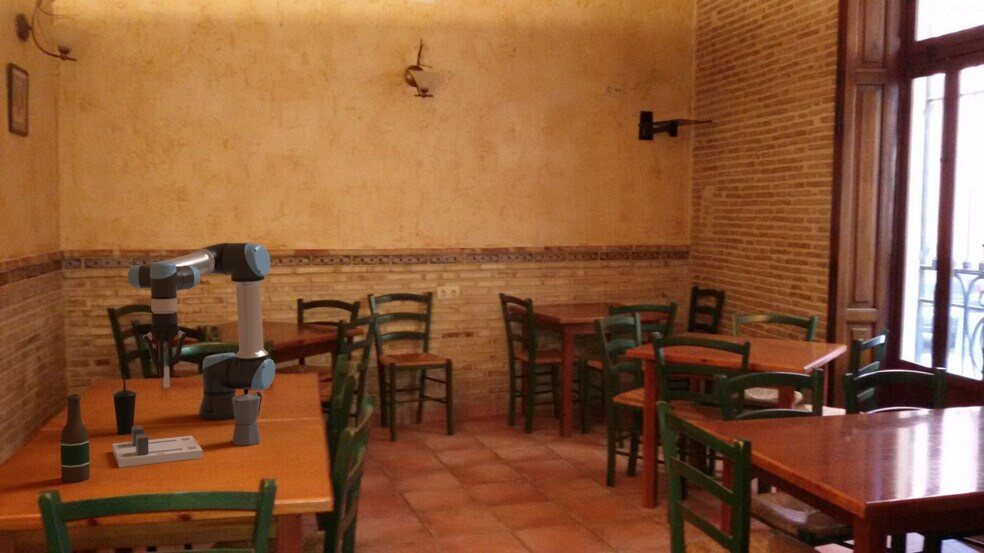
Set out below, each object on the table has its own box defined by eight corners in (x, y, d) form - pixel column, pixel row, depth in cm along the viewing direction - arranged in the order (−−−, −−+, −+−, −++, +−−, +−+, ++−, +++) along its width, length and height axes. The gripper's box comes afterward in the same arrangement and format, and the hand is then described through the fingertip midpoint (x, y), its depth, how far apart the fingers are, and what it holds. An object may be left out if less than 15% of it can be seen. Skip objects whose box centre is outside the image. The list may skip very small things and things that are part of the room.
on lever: (141, 441, 287) (141, 425, 286) (143, 444, 282) (143, 428, 282) (131, 442, 285) (131, 426, 285) (133, 445, 281) (133, 429, 280)
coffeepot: (247, 448, 289) (247, 393, 288) (222, 446, 292) (221, 391, 291) (273, 437, 304) (273, 384, 302) (249, 435, 307) (248, 383, 305)
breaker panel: (191, 443, 295) (191, 435, 295) (202, 458, 278) (202, 449, 277) (112, 451, 284) (112, 443, 284) (118, 467, 266) (118, 458, 266)
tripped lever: (146, 449, 276) (146, 433, 276) (148, 453, 271) (148, 437, 271) (135, 451, 275) (135, 434, 274) (137, 454, 270) (137, 438, 270)
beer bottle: (66, 475, 258) (64, 392, 257) (94, 474, 259) (92, 392, 257) (55, 483, 251) (53, 398, 249) (84, 483, 251) (82, 398, 249)
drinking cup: (128, 436, 304) (127, 377, 302) (108, 434, 305) (107, 376, 304) (142, 430, 311) (140, 373, 310) (122, 429, 313) (120, 372, 311)
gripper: (184, 309, 285) (186, 382, 287) (140, 311, 279) (142, 386, 281) (188, 312, 278) (190, 387, 281) (143, 314, 272) (145, 391, 274)
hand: (166, 386), depth 281 cm, fingers closed
